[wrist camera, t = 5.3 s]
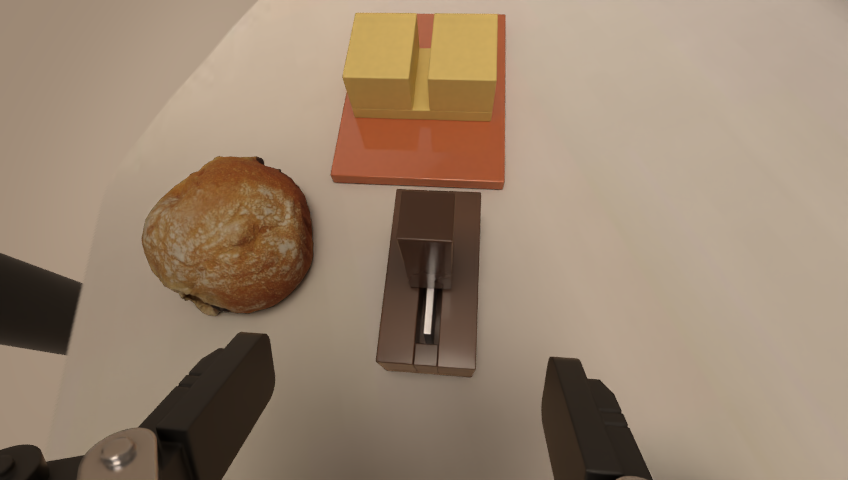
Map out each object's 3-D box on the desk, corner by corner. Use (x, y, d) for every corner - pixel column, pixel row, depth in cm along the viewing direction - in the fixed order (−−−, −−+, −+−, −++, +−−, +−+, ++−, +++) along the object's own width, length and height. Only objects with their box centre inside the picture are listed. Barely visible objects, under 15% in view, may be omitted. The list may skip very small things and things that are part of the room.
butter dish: (502, 189, 29) (504, 182, 28) (333, 182, 30) (330, 175, 29) (504, 24, 35) (505, 14, 34) (364, 23, 36) (361, 12, 35)
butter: (490, 121, 30) (496, 80, 26) (354, 117, 31) (341, 77, 27) (492, 59, 32) (497, 13, 29) (365, 57, 33) (355, 12, 29)
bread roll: (193, 298, 31) (100, 324, 23) (197, 158, 30) (103, 135, 22) (324, 307, 30) (276, 337, 22) (330, 163, 29) (282, 141, 21)
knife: (448, 346, 24) (448, 303, 15) (410, 343, 24) (388, 300, 15) (455, 235, 27) (458, 143, 18) (420, 233, 27) (407, 141, 18)
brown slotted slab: (471, 377, 24) (475, 369, 20) (386, 370, 25) (375, 362, 21) (476, 221, 28) (481, 192, 24) (403, 218, 28) (396, 188, 25)
